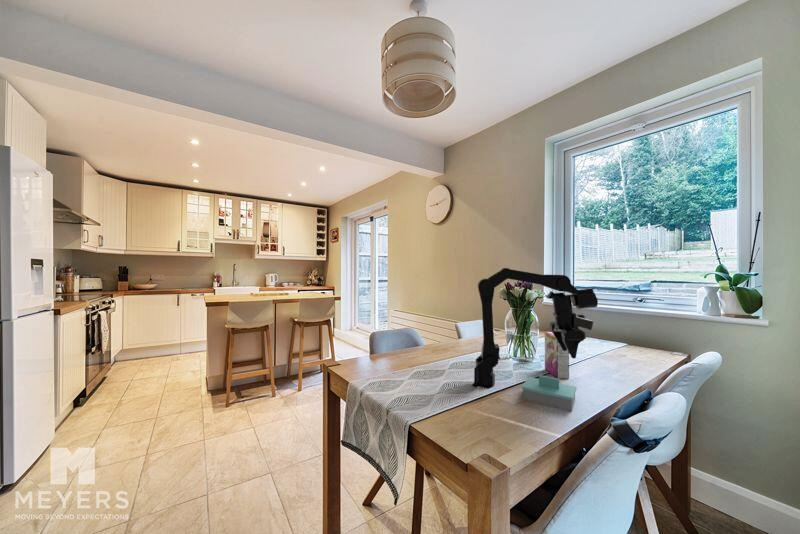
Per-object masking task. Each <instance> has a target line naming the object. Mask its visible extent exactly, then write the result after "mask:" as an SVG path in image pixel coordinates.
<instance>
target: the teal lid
mask: <svg viewBox="0 0 800 534" xmlns="http://www.w3.org/2000/svg"><path fill="white" fill-rule="evenodd" d="M560 381H561V380H560V379H559V378H556V377H552V376H546V375H542V374H539V375H538V378H535V377H532V376H529V377H528V378H527V379H526V380H525V382H524V383H523V384H522V386H521V390H523V389H524V390H529V391H533V392H537V393H542V394H546V395H550V396H555V397H559V398H563V399H568V400H572V401H573V399H574V395H575V396H576V391H577V386H576V385H575V386H574V385H570V384H565V383H562V382H561V383H560Z"/></svg>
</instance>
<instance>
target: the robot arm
mask: <svg viewBox="0 0 800 534" xmlns="http://www.w3.org/2000/svg"><path fill="white" fill-rule="evenodd" d="M507 280H513V281H517V282H523V283H525V282H526V283H530V284H536V285H539V286H542V287H545V288H548V289H551V290H554V291H558V292H554V291H549V293H548V294H547V295H546V296H545V298H547V299H552V303H553V304H552V305H553V313H552V314H553V315H552V316H553V317H554V318H555V319H554V321H551V322H550V323H549V329H550V331H551V332H552V333H553V334H554V336H555V338H556V339H557V341H558V343H559V344H560V346H561V348H562V350H563V351H567V350H568V352H569V356H570V357H571V359H576V358H577V352H578V348H579V344H580V343H581V342H583V341H584V340H586V339H587V337H586V332H584V331H583V330H582V329H580V328H583V329H587V330H589V331H592V330H593V326H594V321H593V320H592V319H588V318H585V317H586V316H585V315H583V314H581V313H578V314H576V312H573V311H574V310H573V307H575V308H576V309H577V310H579V309H580V310H582V309H592V308H593V309H594V308H597V307H598V305H599V304H598V303H599V302H598V301H599V300H598V297H597V295H596V293H595V292H594V288H592V287H586V288H582V289H577V288H576V287H575V286H574V285H573V284H572V282H571V279H570V278H569V276H568V275H565V274H539V273H534V272H528V271H521V270H517V269H516V270H515V269H510V268H508V267H503V268H500V270H499V271H497V272H495V273H494V274H492V275H491V276H489V277H488V278H482V279H479V281H478V283H477V290H478V293H479V299H480V301H481V302H480V304H481V316H482V320H481V321H482V338H483V340H482V345H481V351H480V352H481V353H480V355H479V356H478V357H476V359H475V367H474V370H473V372H474V373H473V375H474V376H473V377H474V379H473V383H472V384H471V386H473V387H476V388H477V387H480V388H485V389H487V390H488V389H491V388H493V387H494V386H495V384H496V383H495V382H496V374H495V373H494V368H495V367H496V366H497V365H498V364H499V360H501V357H500V348H501V347H500V346H499V344H498V343H496V344H495V338H494V337H495V335H494V319H493V318H494V316H493V301H494V296H495V295H494V293H495V288H496V287H498V286H500V285H501V284H502V283H504V282H505V281H507ZM565 293H569V294H565ZM579 327H580V328H579Z"/></svg>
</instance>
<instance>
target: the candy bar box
mask: <svg viewBox="0 0 800 534" xmlns="http://www.w3.org/2000/svg"><path fill="white" fill-rule="evenodd" d="M544 369H545V370H546V371H547V372H548V373H550V374H551V375H552V376H554V378H557V379H566V380H567V379H570V354H569V352H568V350H567V351H563V350H562V348H561V346H560V344H559V343H558V341H557V339H556V338H555V336H554V334H553V333H552V331H544Z"/></svg>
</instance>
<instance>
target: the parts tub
mask: <svg viewBox="0 0 800 534" xmlns="http://www.w3.org/2000/svg"><path fill="white" fill-rule="evenodd" d="M522 400H524V401H529V402H532V403H536V404H540V405H544V406H547V407H552V408H556V409H561V410H564V411H568V412H573V409H574V405H575V403H576V394H575V395H574V399H573V401H572V400H568V399H563V398H559V397H555V396H550V395H546V394H542V393H537V392H533V391H529V390H524V389H522Z"/></svg>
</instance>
